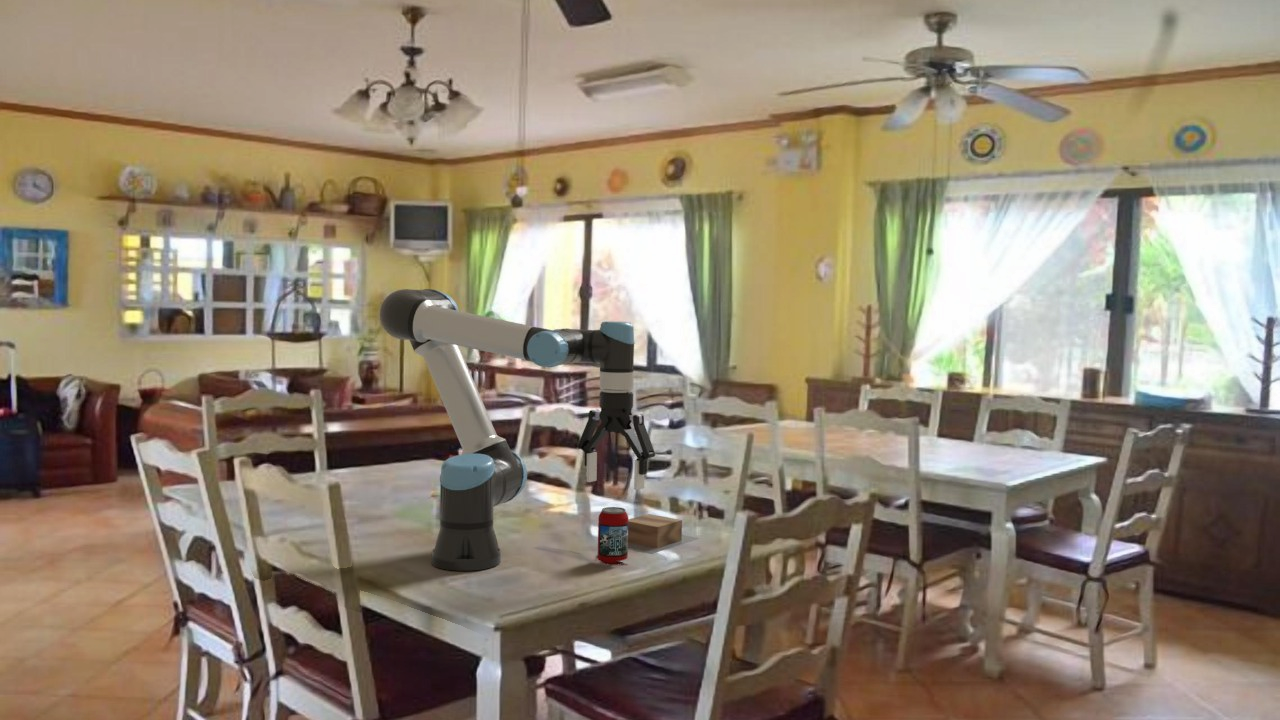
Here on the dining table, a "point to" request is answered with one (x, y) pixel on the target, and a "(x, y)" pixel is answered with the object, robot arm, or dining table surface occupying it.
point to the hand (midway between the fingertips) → (614, 485)
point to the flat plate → (653, 550)
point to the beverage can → (612, 535)
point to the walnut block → (654, 530)
